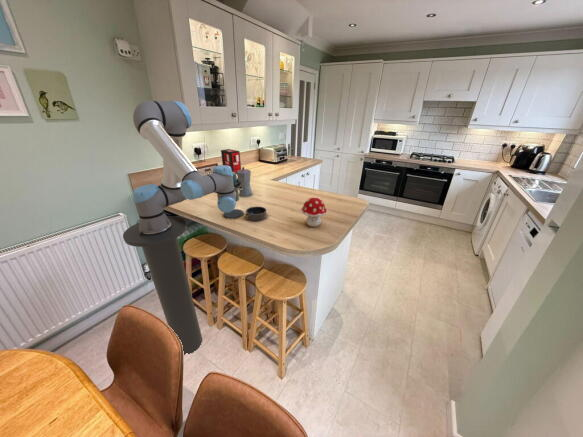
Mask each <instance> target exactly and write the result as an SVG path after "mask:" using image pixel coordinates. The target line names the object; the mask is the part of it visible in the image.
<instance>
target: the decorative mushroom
mask: <svg viewBox="0 0 583 437" xmlns="http://www.w3.org/2000/svg"><path fill="white" fill-rule="evenodd" d="M300 211H301V213H302V215H305V216H306V219H305V223H306V224H307V226H309V227H312V228H316V227H319V225H321V223H322V220H321V217H323V216H325V215H326V214H327V213H328V210H327V208H326V206H325V203H324V201H323V200H322V199H320V198H319V197H310V198H308V199H307V200H305V202H304V203H303V206H302V207H301V208H300Z"/></svg>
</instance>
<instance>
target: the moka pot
mask: <svg viewBox="0 0 583 437" xmlns="http://www.w3.org/2000/svg"><path fill="white" fill-rule="evenodd" d="M251 174H252V172H251V169H247V168H245V166H243V167H242V166H241V170H238V171H237V174H236V177H237V178H238V180H239V181H241V182H242V181H243V182H244V187H243V189H242V190H243V191H242V192H240V191H239V196H240V197H246V198H247V197H250V196H252V195H253V192H252V186H251Z"/></svg>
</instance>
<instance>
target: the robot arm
mask: <svg viewBox="0 0 583 437" xmlns="http://www.w3.org/2000/svg"><path fill="white" fill-rule="evenodd" d="M133 110H134V111H133V115H132V120H133V125H134V128H135V129H136V131H137V132H138V134H139V135H140V136H141V137H142V138H143V139H145V140H148V142H149V143H150V144H151V146H152V147H153V148H154V150H155V151H156V152H157V153H158V154H159V156H160V157H161V158H162V170H163V177H161V179H160V185H157V184H156V183H150V184H144V185H140V186H138V187H137V188H135V189H134V190H133V191H132V198H133V203H134V206H135V208H136V211H137V214H138V217H139V222H138V223H139V231H140V234H139V235H140V236H141V235H156V234H160V233H163V232H165V231H167V230H169V229H170V228H171V222H170V219H169V218H168V217H167V216H168V215H167V214H166V213H165V209H164V208H166V207H169V206H173V205H176V204H178V203H182V202H184V201H186V200H189V201H193V200H197V199H200V198H203V197H205V196H208V195H211V194H214V193H215V194H216V197H217V201H216V202H217V208H218V210H219V211H221V212H222V213H223V214H224V213H229V212H232V211H233V210H234V209H236V206H237V201H236V192H237V191H238V192H239V193H240V192H242V191H243V190H242V189H243V187H244V182H243V181H242V182H241V181H239V180H238V177H237V183H236V184H233V174H232V169H231V167H230V166H227V165H223V164H222V165H221V164H220V165H216V166H214V167H213V169H212V170H213V171H212V172H211V173H209V174H205V175H202V174H201V173H200V172H199V170H198V169H197V168H196V167H195V166H194V165H193V163H192V162H191V161H190V159H189V158H188V157H187V156H186V154H185V153H184V152H183V138H184V137H186V135H187V130H188V129H190V128H191V127H192V124H193V123H192V122H193V120H192V115H191V112H190V111H189V109H188V107H187V106H186V105H185V104H184V103H183V102H181V101H177V100H144V101H141V102H140V103H138V104H137V105H136V107H135V108H134V109H133Z"/></svg>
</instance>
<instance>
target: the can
mask: <svg viewBox="0 0 583 437" xmlns="http://www.w3.org/2000/svg"><path fill="white" fill-rule="evenodd" d="M232 174H233V184H236V183H237V178H238V176H237V174H236V173H235V172H232ZM239 196H240V194H239V191H237V192H236V202H239V200H240V198H239Z"/></svg>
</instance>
